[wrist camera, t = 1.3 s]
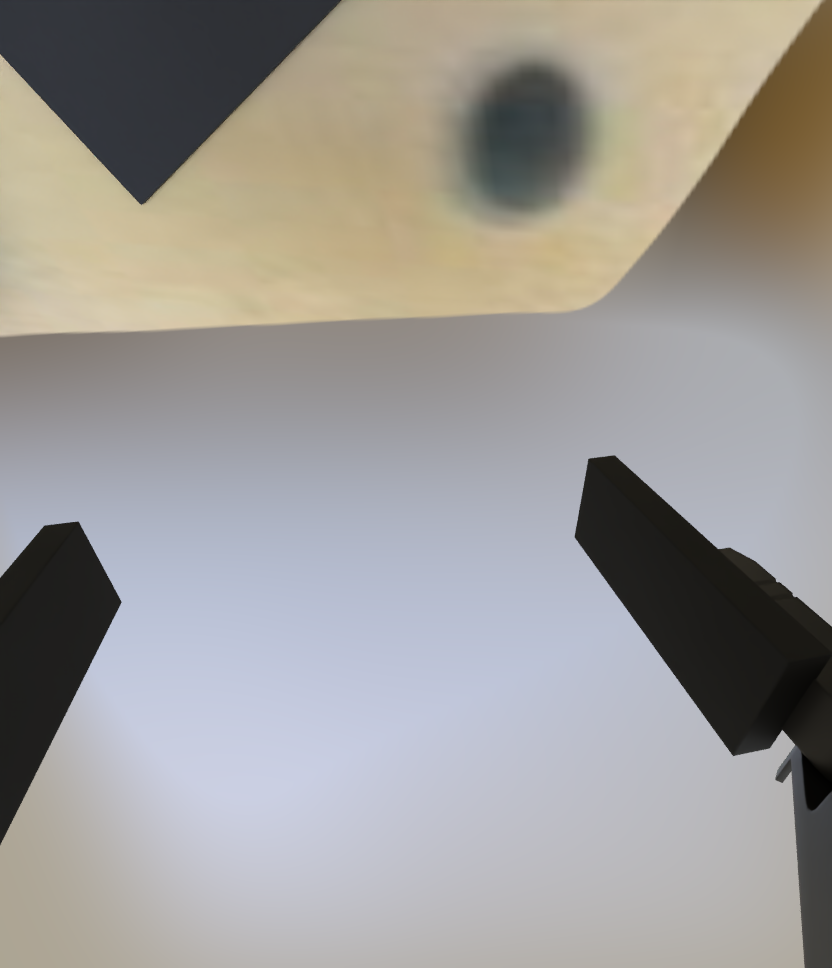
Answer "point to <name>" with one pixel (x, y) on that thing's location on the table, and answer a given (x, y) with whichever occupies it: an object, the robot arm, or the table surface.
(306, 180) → the table surface
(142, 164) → the desk mat
